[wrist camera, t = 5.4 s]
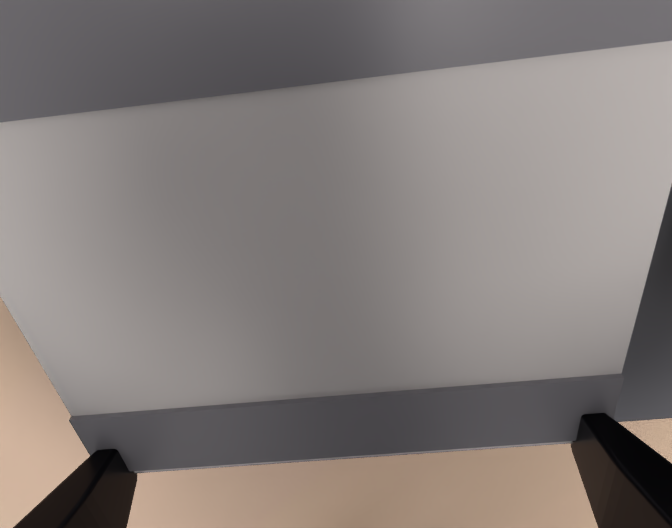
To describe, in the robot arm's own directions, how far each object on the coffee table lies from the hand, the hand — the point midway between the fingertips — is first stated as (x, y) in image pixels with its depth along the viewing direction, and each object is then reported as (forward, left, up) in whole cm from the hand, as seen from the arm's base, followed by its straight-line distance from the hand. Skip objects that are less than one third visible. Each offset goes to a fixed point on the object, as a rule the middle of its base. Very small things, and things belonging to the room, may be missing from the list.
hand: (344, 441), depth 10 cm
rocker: (+4, 0, -1) cm, 4 cm away
